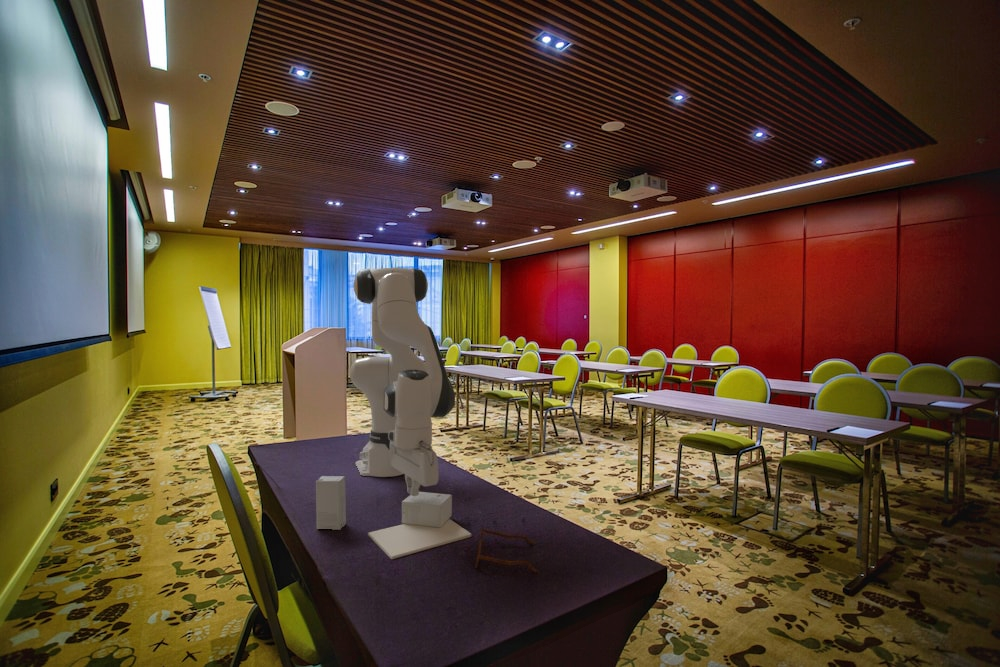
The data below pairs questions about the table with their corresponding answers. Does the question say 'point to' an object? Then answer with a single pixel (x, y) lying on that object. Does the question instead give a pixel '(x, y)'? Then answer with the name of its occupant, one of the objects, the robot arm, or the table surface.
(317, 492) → the skincare box
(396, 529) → the felt mat
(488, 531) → the glasses
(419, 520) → the small box
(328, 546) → the table surface
